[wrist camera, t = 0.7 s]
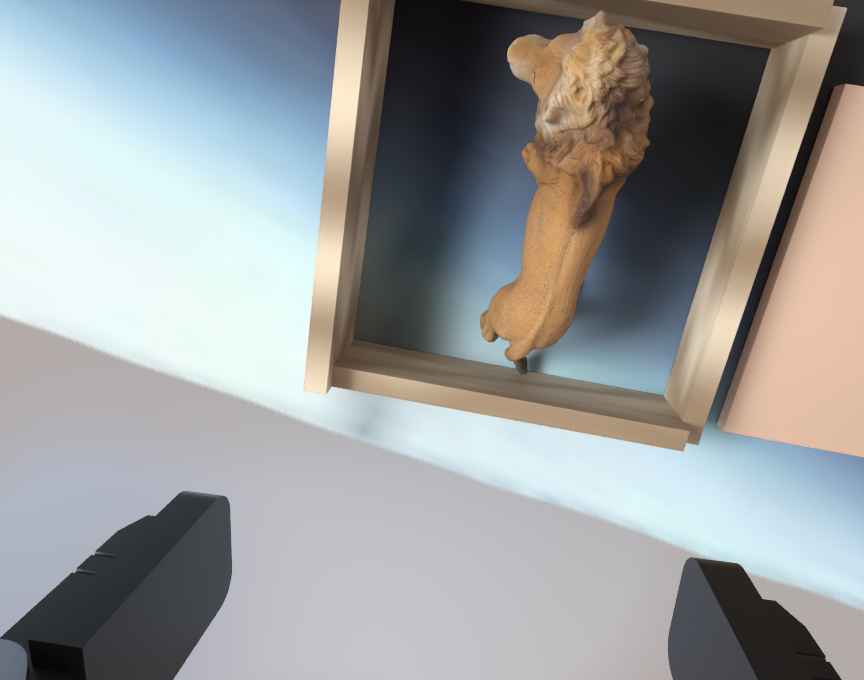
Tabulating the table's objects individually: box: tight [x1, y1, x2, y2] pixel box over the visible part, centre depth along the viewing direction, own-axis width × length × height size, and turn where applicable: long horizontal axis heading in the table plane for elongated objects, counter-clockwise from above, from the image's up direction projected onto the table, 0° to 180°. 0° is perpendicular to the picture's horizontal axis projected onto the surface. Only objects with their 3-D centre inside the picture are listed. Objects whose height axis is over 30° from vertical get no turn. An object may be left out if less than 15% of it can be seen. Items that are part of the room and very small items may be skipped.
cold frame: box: [304, 0, 847, 451], centre depth 24 cm, size 18×18×5 cm
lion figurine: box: [480, 10, 654, 374], centre depth 23 cm, size 15×5×9 cm, turn 176°
